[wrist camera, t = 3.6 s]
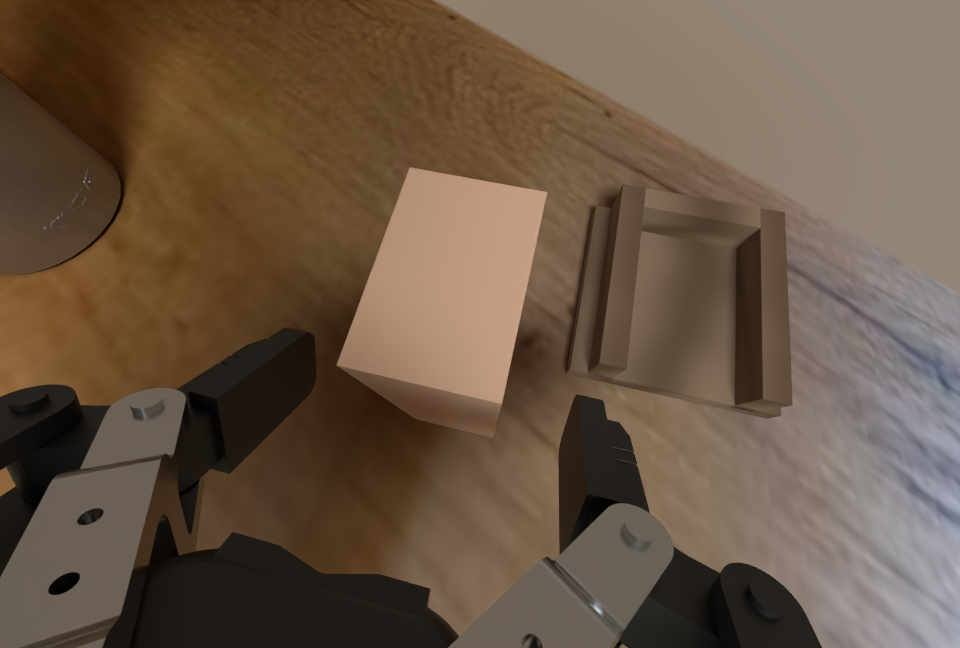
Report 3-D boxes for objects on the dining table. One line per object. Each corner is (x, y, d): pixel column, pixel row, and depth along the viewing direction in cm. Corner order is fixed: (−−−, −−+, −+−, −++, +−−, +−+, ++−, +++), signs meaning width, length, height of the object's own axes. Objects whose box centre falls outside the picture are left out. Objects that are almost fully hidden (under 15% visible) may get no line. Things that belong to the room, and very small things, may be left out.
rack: (566, 373, 20) (579, 358, 17) (591, 215, 23) (606, 181, 21) (766, 418, 19) (814, 409, 16) (763, 247, 23) (803, 215, 20)
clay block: (415, 419, 19) (336, 365, 9) (446, 311, 21) (409, 167, 11) (493, 437, 19) (502, 404, 9) (517, 326, 21) (547, 192, 11)
